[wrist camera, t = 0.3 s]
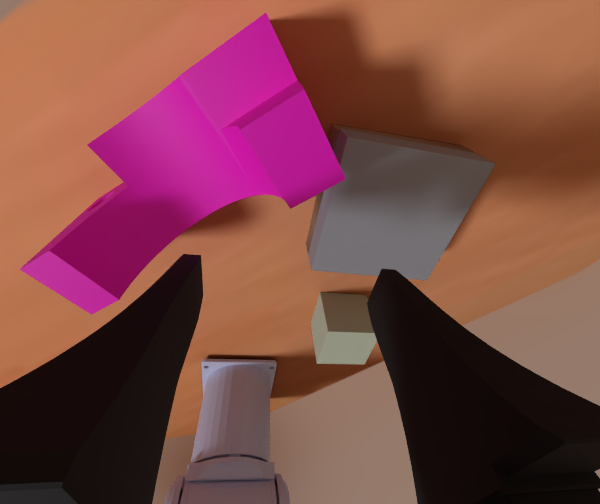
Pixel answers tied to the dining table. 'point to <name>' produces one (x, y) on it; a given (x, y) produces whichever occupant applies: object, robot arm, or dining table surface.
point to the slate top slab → (393, 205)
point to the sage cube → (342, 329)
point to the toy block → (192, 165)
